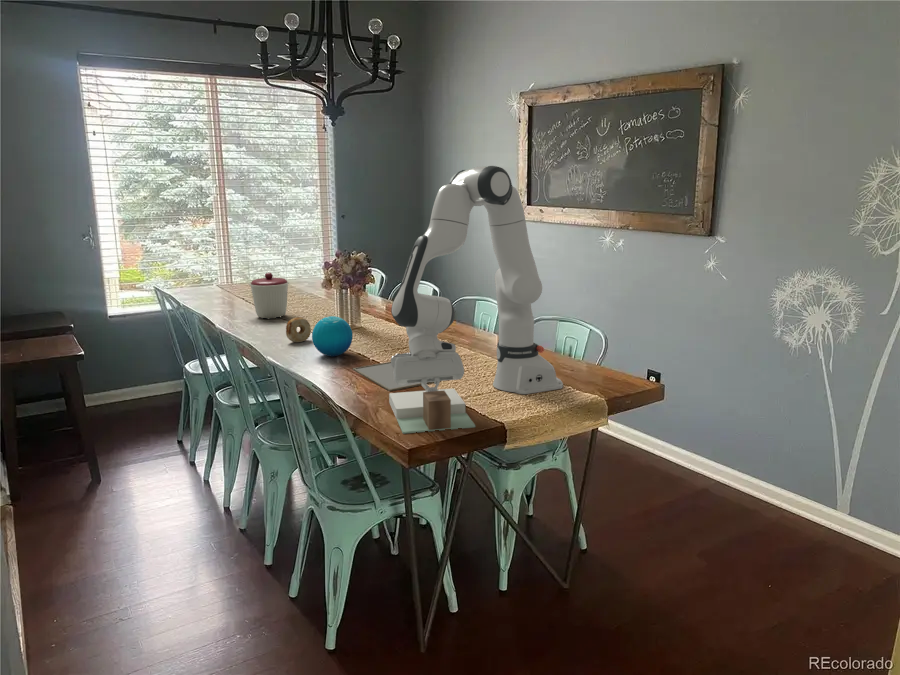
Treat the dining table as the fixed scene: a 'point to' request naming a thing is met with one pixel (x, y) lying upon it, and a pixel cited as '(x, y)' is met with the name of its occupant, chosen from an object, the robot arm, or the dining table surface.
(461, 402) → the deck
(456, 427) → the mat
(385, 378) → the picture frame
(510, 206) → the robot arm
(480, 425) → the dining table surface
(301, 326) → the stone disc
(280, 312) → the canister
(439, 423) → the walnut block
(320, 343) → the decorative orb
